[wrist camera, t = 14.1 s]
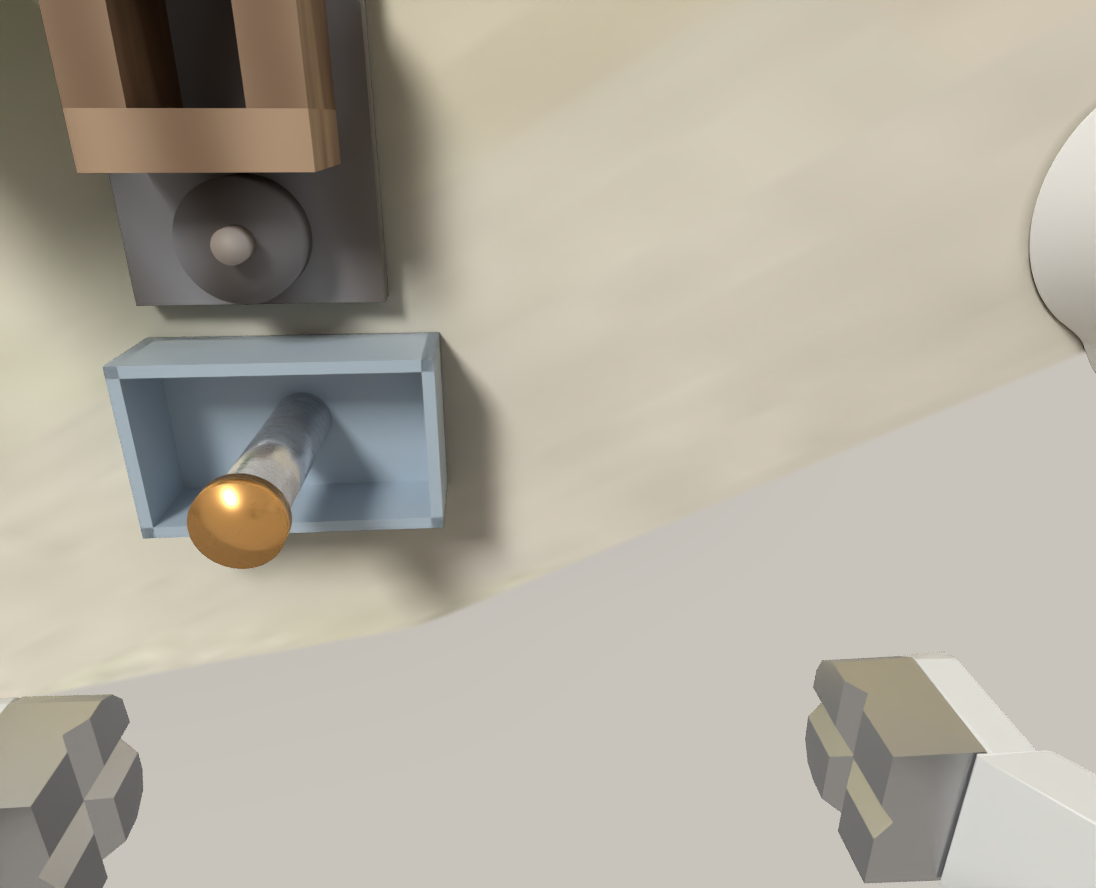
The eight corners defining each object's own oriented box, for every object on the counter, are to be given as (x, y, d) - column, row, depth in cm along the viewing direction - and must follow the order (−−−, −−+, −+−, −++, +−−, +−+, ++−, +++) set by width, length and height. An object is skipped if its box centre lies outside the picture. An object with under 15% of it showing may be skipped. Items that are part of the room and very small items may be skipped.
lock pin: (335, 384, 41) (279, 482, 30) (343, 450, 42) (292, 566, 31) (262, 386, 41) (178, 485, 29) (272, 452, 42) (196, 570, 31)
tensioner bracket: (359, -70, 33) (327, -119, 27) (388, 295, 40) (368, 332, 33) (72, -76, 33) (-38, -127, 26) (148, 299, 39) (77, 338, 32)
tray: (439, 332, 41) (433, 359, 36) (447, 484, 44) (443, 527, 40) (146, 337, 40) (102, 366, 35) (179, 493, 43) (142, 538, 39)
